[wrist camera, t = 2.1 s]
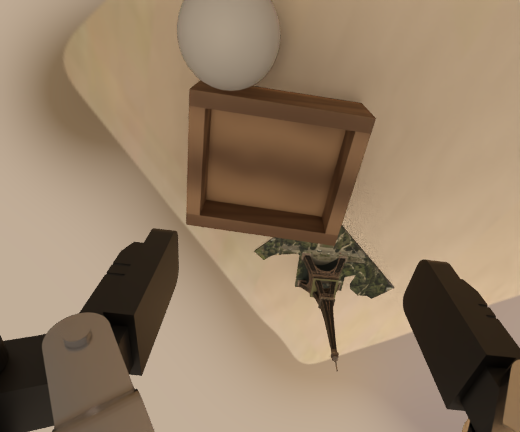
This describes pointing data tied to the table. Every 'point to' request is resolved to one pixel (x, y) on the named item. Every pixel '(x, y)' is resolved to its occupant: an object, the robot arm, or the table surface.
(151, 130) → the table surface
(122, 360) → the robot arm
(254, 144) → the wooden tray
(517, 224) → the table surface
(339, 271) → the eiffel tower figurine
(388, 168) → the table surface
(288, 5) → the table surface
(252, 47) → the lightbulb
